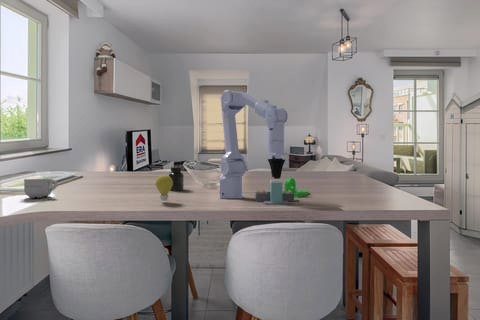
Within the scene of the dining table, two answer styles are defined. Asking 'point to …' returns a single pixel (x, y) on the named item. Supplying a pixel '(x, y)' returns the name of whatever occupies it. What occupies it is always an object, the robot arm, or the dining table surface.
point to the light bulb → (164, 186)
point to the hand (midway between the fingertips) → (276, 178)
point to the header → (266, 196)
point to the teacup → (39, 187)
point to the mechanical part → (294, 188)
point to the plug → (276, 191)
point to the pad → (275, 203)
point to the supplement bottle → (177, 179)
